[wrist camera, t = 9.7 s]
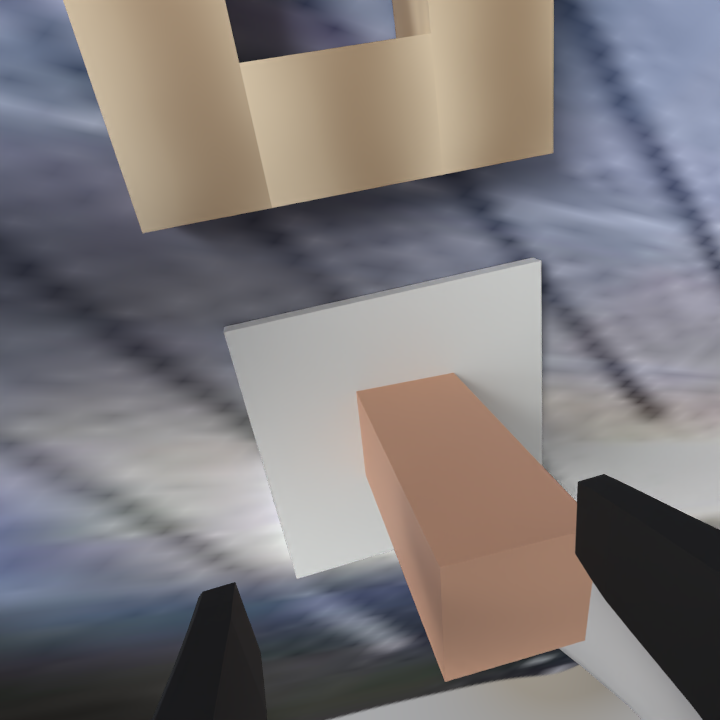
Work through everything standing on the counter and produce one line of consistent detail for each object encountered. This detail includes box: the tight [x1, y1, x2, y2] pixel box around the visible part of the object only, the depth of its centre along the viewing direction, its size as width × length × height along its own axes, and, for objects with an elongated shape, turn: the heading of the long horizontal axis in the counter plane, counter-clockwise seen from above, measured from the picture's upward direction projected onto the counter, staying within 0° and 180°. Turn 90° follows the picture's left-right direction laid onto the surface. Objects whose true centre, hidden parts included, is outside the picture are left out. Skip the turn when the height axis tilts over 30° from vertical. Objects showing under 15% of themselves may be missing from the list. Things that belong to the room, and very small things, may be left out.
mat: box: [224, 258, 543, 579], centre depth 21 cm, size 12×12×1 cm
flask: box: [559, 582, 703, 720], centre depth 23 cm, size 7×7×10 cm
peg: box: [356, 373, 593, 682], centre depth 16 cm, size 4×4×9 cm
